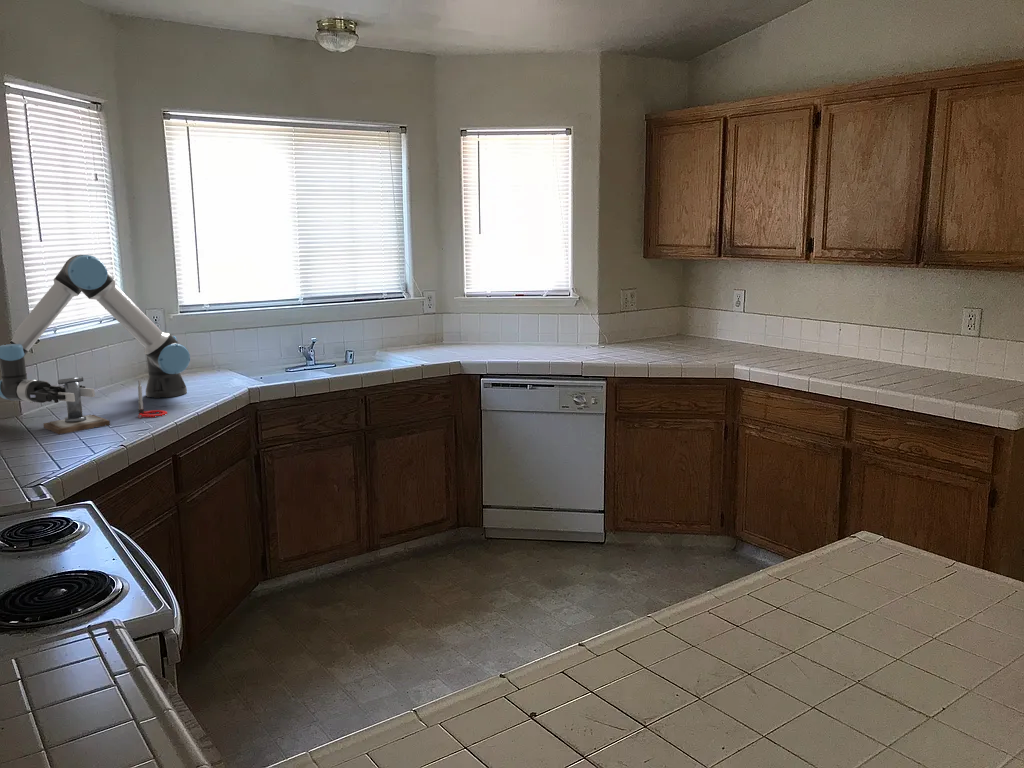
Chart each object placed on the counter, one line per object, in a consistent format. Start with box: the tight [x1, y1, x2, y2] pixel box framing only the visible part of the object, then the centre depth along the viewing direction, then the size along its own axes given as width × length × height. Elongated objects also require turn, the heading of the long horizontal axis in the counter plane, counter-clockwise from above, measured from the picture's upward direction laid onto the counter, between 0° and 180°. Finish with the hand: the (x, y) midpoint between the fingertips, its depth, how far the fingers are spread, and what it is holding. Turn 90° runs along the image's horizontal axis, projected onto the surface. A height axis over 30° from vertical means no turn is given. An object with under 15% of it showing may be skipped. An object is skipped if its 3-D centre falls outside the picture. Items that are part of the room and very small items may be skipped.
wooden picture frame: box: [42, 414, 111, 435], centre depth 278 cm, size 16×14×2 cm
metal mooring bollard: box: [57, 376, 86, 422], centre depth 276 cm, size 8×6×14 cm
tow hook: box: [137, 379, 168, 419], centre depth 292 cm, size 8×13×9 cm
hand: (83, 395), depth 274 cm, fingers open, 7 cm apart
